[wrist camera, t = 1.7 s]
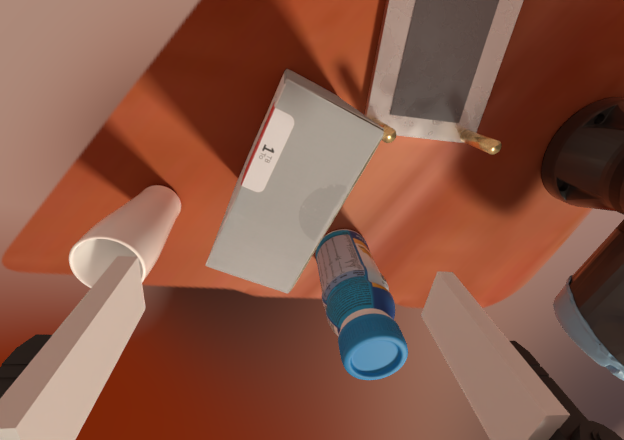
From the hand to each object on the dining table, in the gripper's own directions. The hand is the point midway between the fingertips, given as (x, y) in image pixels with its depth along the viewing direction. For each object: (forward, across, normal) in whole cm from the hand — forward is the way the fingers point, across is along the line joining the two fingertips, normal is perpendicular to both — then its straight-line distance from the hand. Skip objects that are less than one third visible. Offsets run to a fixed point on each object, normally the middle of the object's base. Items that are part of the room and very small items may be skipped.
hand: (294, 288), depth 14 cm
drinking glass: (+29, +16, +10) cm, 35 cm away
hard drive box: (+29, 0, 0) cm, 30 cm away
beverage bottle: (+29, -10, +16) cm, 35 cm away
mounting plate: (+29, -17, -13) cm, 36 cm away
